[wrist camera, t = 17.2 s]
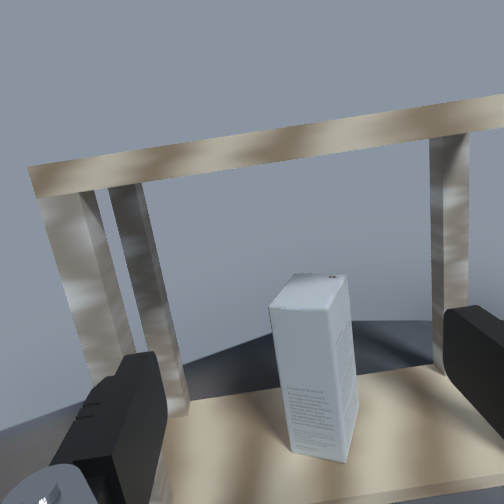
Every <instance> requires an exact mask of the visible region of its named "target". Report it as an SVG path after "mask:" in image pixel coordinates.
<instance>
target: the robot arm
mask: <svg viewBox="0 0 504 504" xmlns="http://www.w3.org/2000/svg"><path fill="white" fill-rule="evenodd" d="M443 365H444V369H445V372H446V374H447V376H448V378H449V380H450V381H451V383H452V384H453V385H454V386H455V387H456V388H457V389H458V390H459V391H460V392H461V394H462V395H463V396H464V397H465V398H466V399H467V400H468V401H469V402H470V403H471V404H472V406H473V407H474V408H475V409H476V410H477V411H478V412H479V413H480V414H481V415H482V416H483V418H484V419H485V420H486V421H487V422H488V423H489V424H490V425H491V426H492V427H493V429H494V430H495V431H496V432H497V433H498V434H499V435H500V436H501V437H502V438H503V439H504V321H503V320H499V319H498V318H496V317H495V316H493V315H492V314H490V313H489V312H487V311H486V310H484V309H482V308H481V307H480V306H478V305H472V306H465V307H458V308H451V309H447V310H446V311H445V313H444V318H443ZM167 419H168V408H167V399H166V395H165V391H164V386H163V382H162V378H161V373H160V369H159V365H158V360H157V357H156V354H155V353H154V351H149V352H142V353H135V354H128V355H125V356H124V357H123V359H122V361H121V363H120V365H119V367H118V369H117V371H116V373H115V375H113V376H106V377H105V378H104V379H103V380H102V381H101V382H100V383H98V384H97V385H96V386H95V387H94V388H93V389H92V390H91V391H90V393H89V395H88V397H87V398H86V400H85V402H84V404H83V408H81V409H80V411H79V413H78V415H77V416H76V421H74V422H73V424H72V425H71V427H70V429H69V431H68V433H67V434H66V436H65V438H64V440H63V441H62V443H61V445H60V447H59V449H58V450H57V452H56V454H55V456H54V458H53V459H52V461H51V463H50V465H49V467H46V468H44V469H41V470H39V471H37V472H35V473H33V474H32V475H30V476H29V477H27V478H26V479H24V480H23V481H22V482H20V483H19V484H18V485H17V486H16V487H14V488H13V489H12V490H11V492H10V493H9V494H8V495H7V496H6V497H5V499H4V500H3V501H2V503H1V504H149V501H150V497H151V493H152V488H153V484H154V479H155V475H156V470H157V466H158V461H159V457H160V452H161V448H162V443H163V439H164V434H165V430H166V425H167Z"/></svg>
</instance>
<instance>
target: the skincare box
mask: <svg viewBox="0 0 504 504" xmlns="http://www.w3.org/2000/svg"><path fill="white" fill-rule="evenodd" d="M268 309H269V314H270V322H271V328H272V334H273V341H274V348H275V354H276V360H277V367H278V373H279V380H280V386H281V392H282V399H283V405H284V411H285V418H286V424H287V430H288V436H289V443H290V449H291V451H292V452H293V453H297V454H302V455H307V456H312V457H317V458H321V459H326V460H330V461H335V462H339V463H346V462H347V457H348V453H349V448H350V444H351V440H352V436H353V431H354V427H355V423H356V418H357V414H358V410H359V400H358V389H357V377H356V367H355V357H354V346H353V335H352V324H351V314H350V301H349V291H348V282H347V275H346V274H310V273H308V274H294V275H293V276H292V278H291V279H290V280H289V281H288V283H287V284H286V285H285V286H284V288H283V289H282V290H281V291H280V293H279V294H278V295H277V296H276V298H275V299H274V300H273V301H272V303H271V304H270V305H269V306H268Z"/></svg>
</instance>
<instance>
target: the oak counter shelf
mask: <svg viewBox="0 0 504 504" xmlns="http://www.w3.org/2000/svg"><path fill="white" fill-rule="evenodd" d="M501 127H504V94H500V95H493V96H487V97H480V98H474V99H468V100H461V101H454V102H447V103H441V104H435V105H428V106H421V107H415V108H409V109H403V110H395V111H389V112H382V113H376V114H369V115H362V116H356V117H350V118H343V119H337V120H330V121H323V122H317V123H310V124H304V125H297V126H290V127H284V128H277V129H272V130H264V131H258V132H251V133H245V134H239V135H232V136H226V137H219V138H212V139H206V140H199V141H192V142H186V143H179V144H173V145H167V146H160V147H153V148H147V149H140V150H134V151H128V152H121V153H114V154H107V155H101V156H95V157H88V158H81V159H75V160H68V161H62V162H55V163H49V164H42V165H36V166H29V167H27V168H28V172H29V175H30V178H31V181H32V185H33V188H34V191H35V195H36V198H37V201H38V205H39V208H40V211H41V214H42V218H43V221H44V224H45V228H46V231H47V234H48V237H49V241H50V244H51V248H52V251H53V254H54V257H55V261H56V264H57V267H58V271H59V274H60V277H61V281H62V284H63V287H64V290H65V294H66V297H67V300H68V303H69V307H70V310H71V313H72V316H73V320H74V323H75V327H76V330H77V333H78V337H79V340H80V343H81V346H82V349H83V353H84V356H85V360H86V363H87V366H88V369H89V372H90V376H91V380H92V383H93V386H94V387H95V386H96V385H97V384H98V383H100V382H101V381H102V380H103V379H104V378H105V377H106V376H113V375H115V373H116V371H117V369H118V367H119V365H120V363H121V361H122V359H123V357H124V356H125V355H128V354H135V353H136V350H135V346H134V342H133V339H132V335H131V331H130V327H129V323H128V319H127V315H126V311H125V308H124V304H123V300H122V296H121V292H120V288H119V285H118V281H117V278H116V273H115V269H114V265H113V261H112V258H111V254H110V250H109V246H108V242H107V239H106V234H105V231H104V227H103V223H102V219H101V216H100V211H99V208H98V204H97V200H96V196H95V193H94V190H96V189H103V188H108V191H109V195H110V198H111V203H112V207H113V211H114V215H115V219H116V223H117V227H118V231H119V235H120V239H121V243H122V247H123V251H124V255H125V259H126V263H127V267H128V271H129V274H130V279H131V283H132V287H133V291H134V295H135V299H136V303H137V307H138V311H139V315H140V319H141V323H142V327H143V331H144V335H145V339H146V343H147V347H148V351H154V353H155V354H156V357H157V360H158V365H159V369H160V373H161V378H162V382H163V386H164V391H165V395H166V399H167V408H168V419H167V425H166V430H165V434H164V439H163V443H162V448H161V452H160V457H159V461H158V466H157V470H156V475H155V479H154V484H153V488H152V493H151V497H150V501H149V504H388V503H395V502H401V501H408V500H414V499H421V498H427V497H433V496H440V495H446V494H453V493H459V492H466V491H472V490H478V489H485V488H491V487H498V486H504V439H503V438H502V437H501V436H500V435H499V434H498V433H497V432H496V431H495V430H494V429H493V427H492V426H491V425H490V424H489V423H488V422H487V421H486V420H485V419H484V418H483V416H482V415H481V414H480V413H479V412H478V411H477V410H476V409H475V408H474V407H473V406H472V404H471V403H470V402H469V401H468V400H467V399H466V398H465V397H464V396H463V395H462V394H461V392H460V391H459V390H458V389H457V388H456V387H455V386H454V385H453V384H452V383H451V381H450V380H449V378H448V376H447V374H446V372H445V369H444V365H443V318H444V313H445V311H446V310H447V309H451V308H458V307H465V306H468V219H469V218H468V217H469V211H468V209H469V132H475V131H482V130H488V129H494V128H501ZM423 139H429V155H430V156H429V157H430V207H431V208H430V212H431V265H432V316H433V317H432V321H433V364H428V365H422V366H415V367H409V368H403V369H396V370H390V371H383V372H377V373H370V374H364V375H357V376H356V377H357V389H358V400H359V410H358V414H357V418H356V423H355V427H354V431H353V436H352V440H351V444H350V448H349V453H348V457H347V462H346V463H339V462H335V461H330V460H326V459H321V458H317V457H312V456H307V455H302V454H297V453H293V452H292V451H291V449H290V443H289V436H288V430H287V424H286V418H285V411H284V405H283V399H282V392H281V387H280V388H273V389H267V390H260V391H254V392H247V393H241V394H234V395H228V396H221V397H215V398H209V399H202V400H196V401H190V397H189V392H188V388H187V383H186V379H185V374H184V370H183V366H182V361H181V357H180V352H179V348H178V343H177V339H176V335H175V330H174V325H173V321H172V317H171V312H170V308H169V303H168V299H167V294H166V290H165V285H164V281H163V276H162V272H161V268H160V263H159V259H158V254H157V250H156V245H155V241H154V236H153V232H152V227H151V223H150V219H149V214H148V210H147V205H146V201H145V196H144V192H143V187H142V182H149V181H155V180H162V179H168V178H174V177H181V176H188V175H194V174H201V173H207V172H214V171H220V170H227V169H233V168H240V167H246V166H253V165H260V164H266V163H272V162H279V161H286V160H292V159H299V158H305V157H311V156H318V155H325V154H331V153H338V152H345V151H351V150H358V149H364V148H371V147H377V146H384V145H390V144H397V143H403V142H410V141H416V140H423Z"/></svg>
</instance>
